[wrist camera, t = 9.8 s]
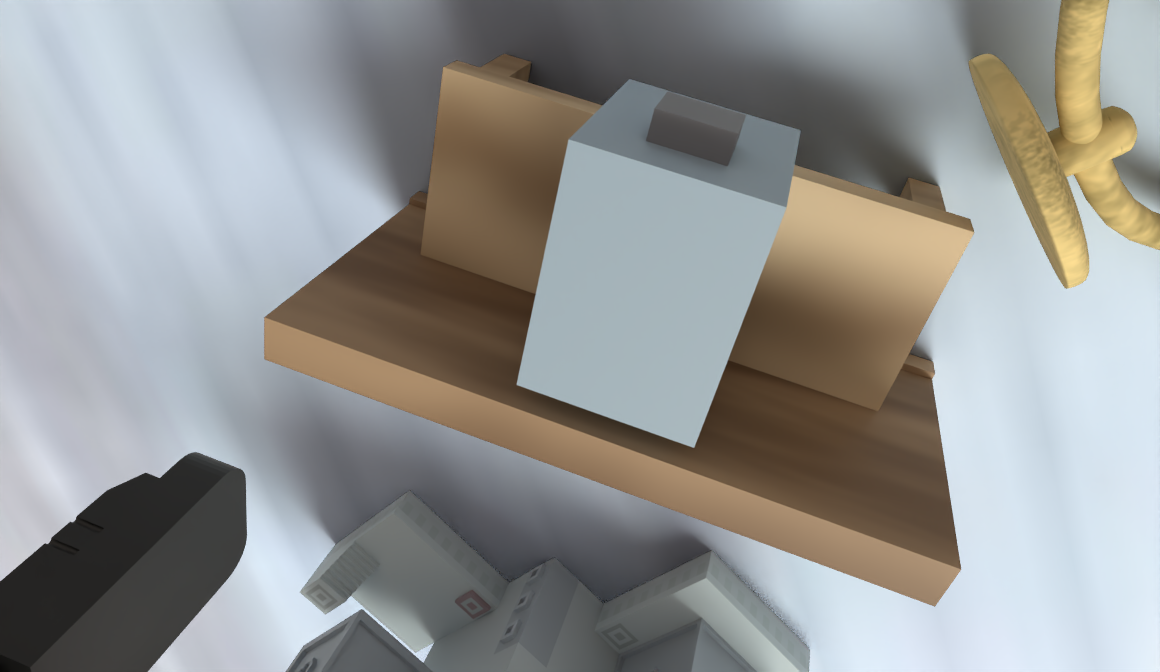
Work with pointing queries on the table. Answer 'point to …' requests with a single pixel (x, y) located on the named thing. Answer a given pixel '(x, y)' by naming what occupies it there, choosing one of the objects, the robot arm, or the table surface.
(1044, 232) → the wall sconce
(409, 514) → the castle model
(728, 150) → the grey rectangular box
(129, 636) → the robot arm
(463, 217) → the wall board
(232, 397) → the table surface
